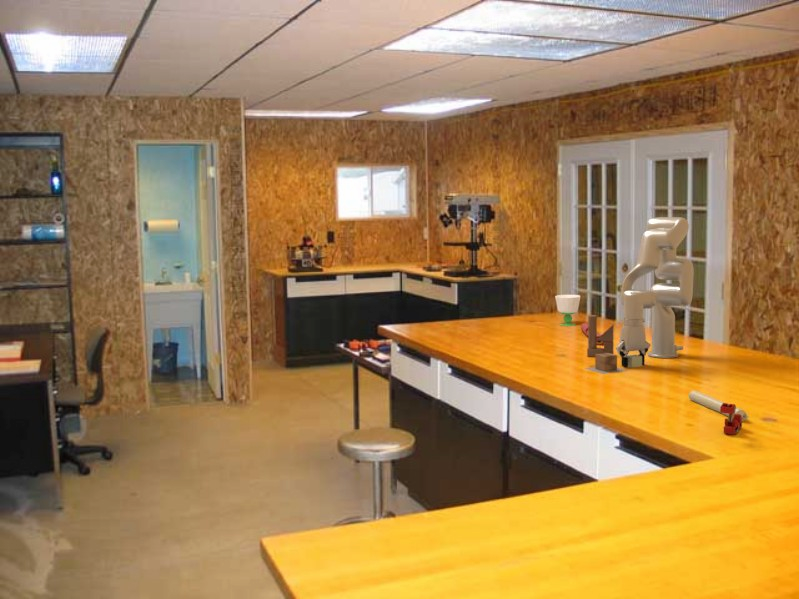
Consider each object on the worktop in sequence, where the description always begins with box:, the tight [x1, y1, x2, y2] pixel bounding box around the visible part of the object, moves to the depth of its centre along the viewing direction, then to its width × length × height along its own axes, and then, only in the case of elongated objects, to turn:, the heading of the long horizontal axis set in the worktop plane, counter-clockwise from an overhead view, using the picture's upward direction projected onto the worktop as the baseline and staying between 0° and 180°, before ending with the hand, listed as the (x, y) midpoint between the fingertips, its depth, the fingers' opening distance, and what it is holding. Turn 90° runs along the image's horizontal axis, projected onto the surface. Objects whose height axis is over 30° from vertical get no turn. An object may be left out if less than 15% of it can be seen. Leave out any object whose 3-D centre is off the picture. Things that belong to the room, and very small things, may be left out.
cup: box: [554, 294, 581, 327], centre depth 454 cm, size 14×14×16 cm
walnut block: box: [594, 353, 618, 372], centre depth 331 cm, size 6×6×6 cm
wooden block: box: [586, 314, 614, 358], centre depth 362 cm, size 4×11×18 cm, turn 67°
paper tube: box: [688, 390, 750, 422], centre depth 268 cm, size 4×30×4 cm, turn 11°
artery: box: [580, 322, 604, 346], centre depth 410 cm, size 42×5×5 cm, turn 176°
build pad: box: [584, 366, 628, 375], centre depth 332 cm, size 12×12×1 cm
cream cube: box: [627, 354, 643, 368], centre depth 338 cm, size 5×5×5 cm
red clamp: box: [720, 402, 743, 435], centre depth 242 cm, size 3×14×10 cm, turn 145°
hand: (633, 365), depth 338 cm, fingers open, 7 cm apart
